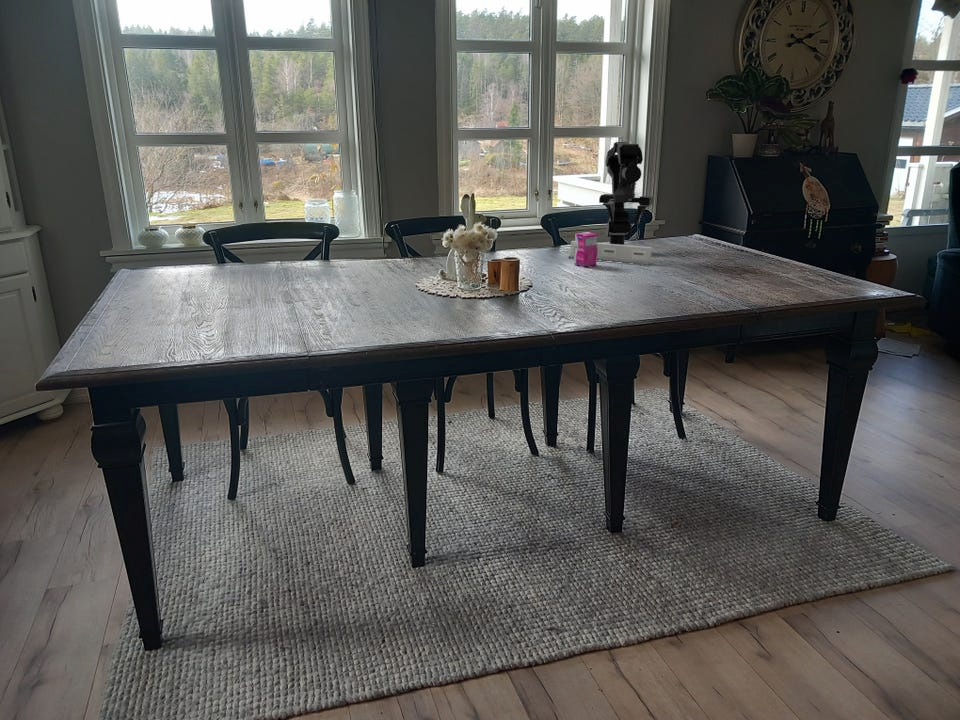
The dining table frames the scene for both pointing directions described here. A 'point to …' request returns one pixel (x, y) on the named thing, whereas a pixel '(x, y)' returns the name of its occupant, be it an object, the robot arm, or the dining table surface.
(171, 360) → the dining table surface
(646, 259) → the panel
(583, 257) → the supplement box
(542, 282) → the dining table surface
